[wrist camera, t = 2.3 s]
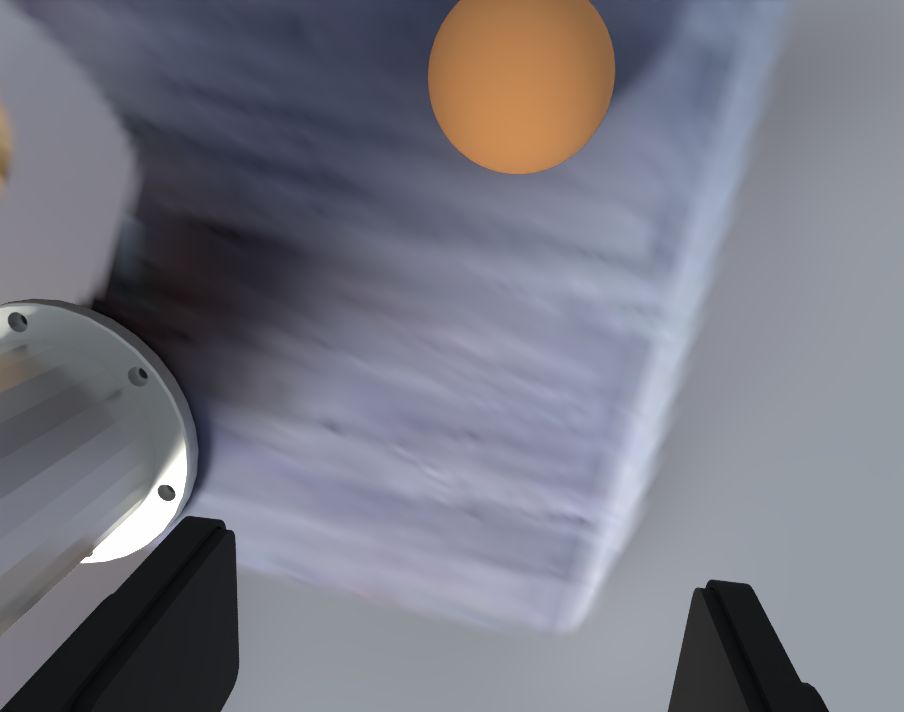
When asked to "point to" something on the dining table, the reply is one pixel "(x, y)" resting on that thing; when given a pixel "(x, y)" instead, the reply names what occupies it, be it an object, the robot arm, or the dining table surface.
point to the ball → (521, 80)
